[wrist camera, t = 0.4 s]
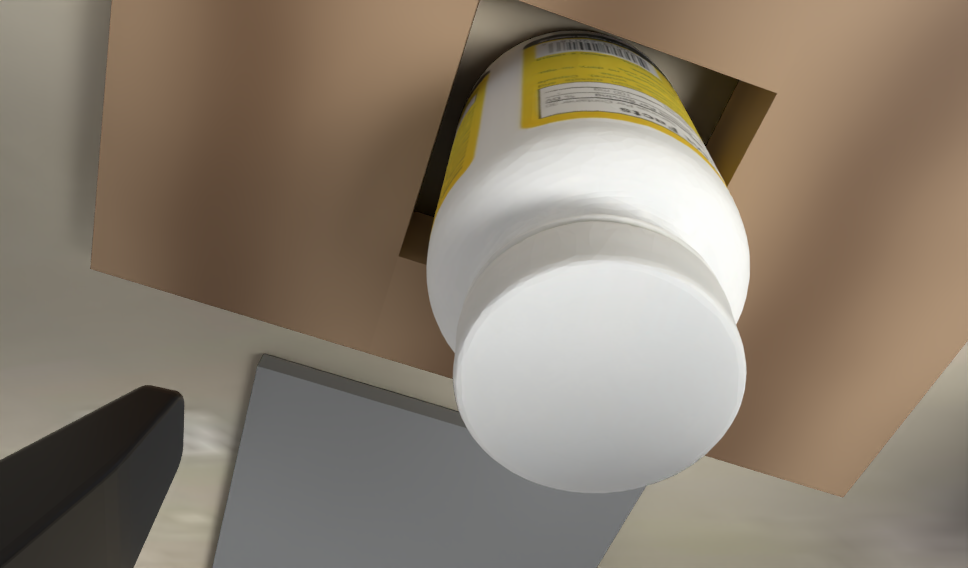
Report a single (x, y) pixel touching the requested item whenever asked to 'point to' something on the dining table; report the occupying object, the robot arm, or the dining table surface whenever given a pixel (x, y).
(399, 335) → the wooden block with hole
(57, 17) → the dining table surface
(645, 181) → the supplement bottle
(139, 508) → the robot arm
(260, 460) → the rubber mat
